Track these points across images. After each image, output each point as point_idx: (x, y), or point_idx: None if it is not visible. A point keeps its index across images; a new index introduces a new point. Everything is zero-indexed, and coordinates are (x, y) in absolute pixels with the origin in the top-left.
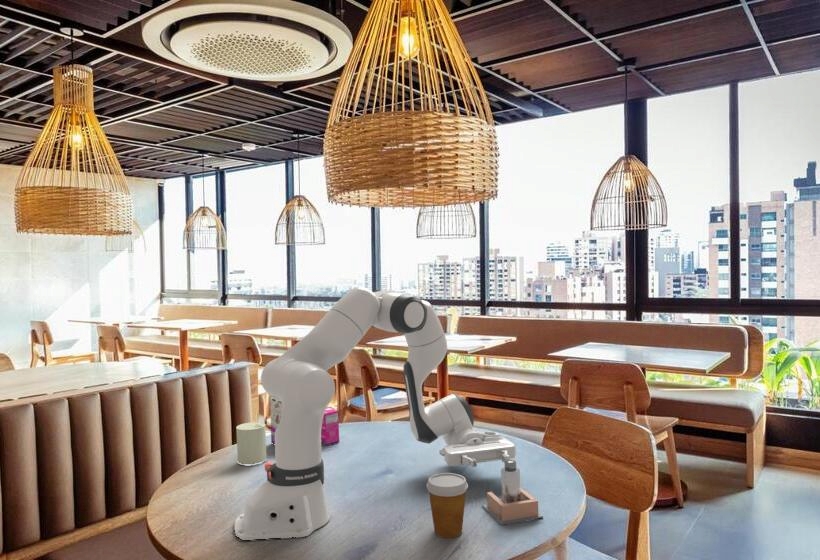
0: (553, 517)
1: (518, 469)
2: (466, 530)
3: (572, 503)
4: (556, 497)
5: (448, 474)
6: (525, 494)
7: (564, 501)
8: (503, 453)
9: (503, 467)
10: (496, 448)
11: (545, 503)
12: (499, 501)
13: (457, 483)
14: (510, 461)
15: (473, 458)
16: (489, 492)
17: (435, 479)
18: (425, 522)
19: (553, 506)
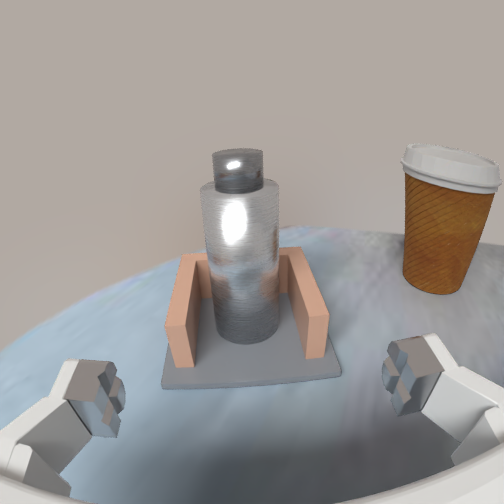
0: (153, 290)
1: (207, 186)
2: (393, 276)
3: (50, 329)
4: (46, 369)
5: (464, 165)
6: (188, 284)
7: (54, 343)
8: (38, 456)
9: (258, 196)
10: (51, 494)
11: (107, 350)
12: (299, 263)
13: (425, 151)
14: (235, 153)
15: (422, 370)
16: (318, 313)
17: (483, 164)
18: (492, 308)
19: (103, 330)
